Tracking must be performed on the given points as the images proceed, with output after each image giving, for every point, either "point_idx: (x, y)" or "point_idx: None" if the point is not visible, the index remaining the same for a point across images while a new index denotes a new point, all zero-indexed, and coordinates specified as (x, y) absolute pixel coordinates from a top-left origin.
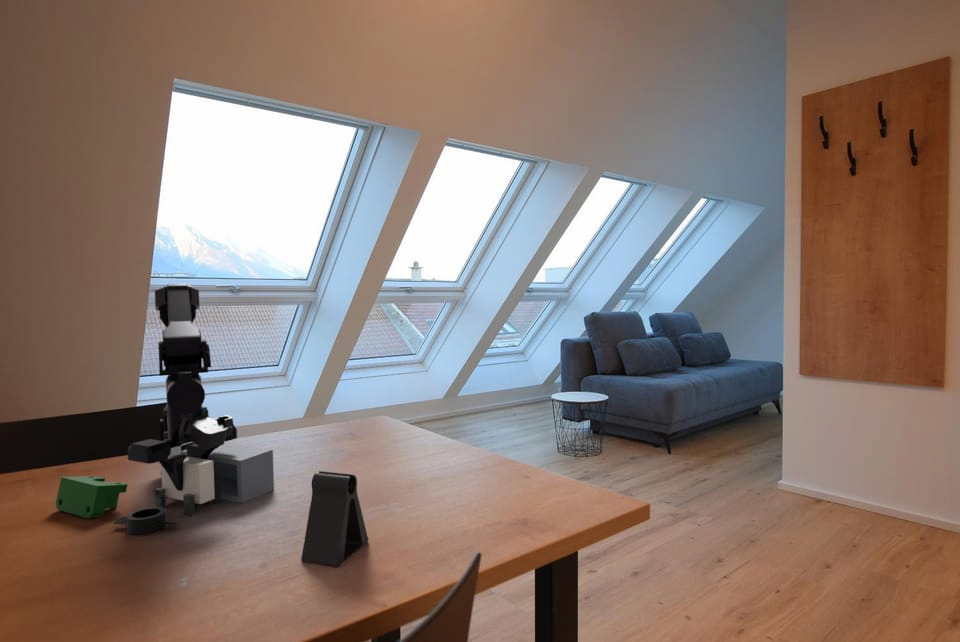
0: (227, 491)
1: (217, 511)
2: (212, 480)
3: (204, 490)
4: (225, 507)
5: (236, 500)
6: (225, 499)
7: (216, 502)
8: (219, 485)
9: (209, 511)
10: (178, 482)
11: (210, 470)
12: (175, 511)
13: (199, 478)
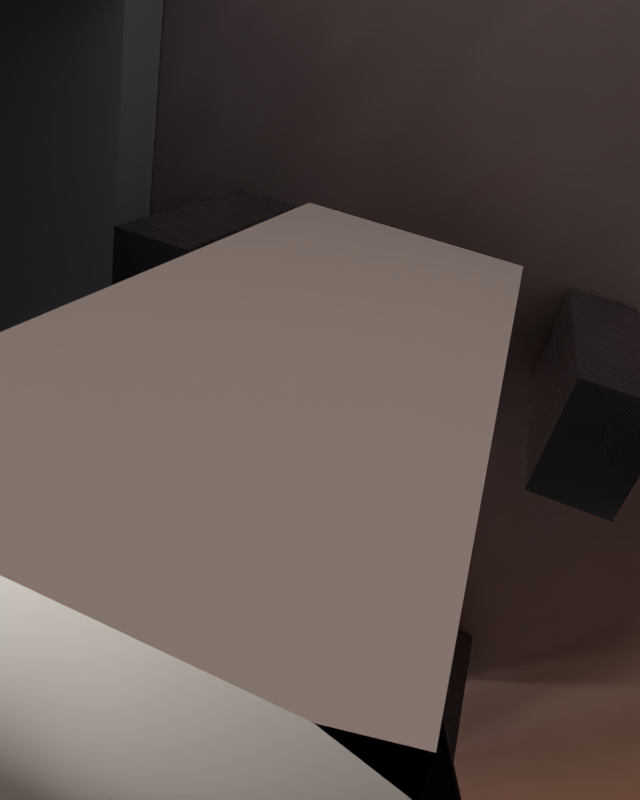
0: (45, 251)
1: (458, 62)
2: (209, 269)
3: (421, 291)
4: (323, 50)
5: (149, 24)
6: (147, 206)
7: (282, 208)
8: (128, 230)
9: (468, 170)
10: (444, 736)
11: (112, 356)
12: (500, 515)
13: (491, 436)
